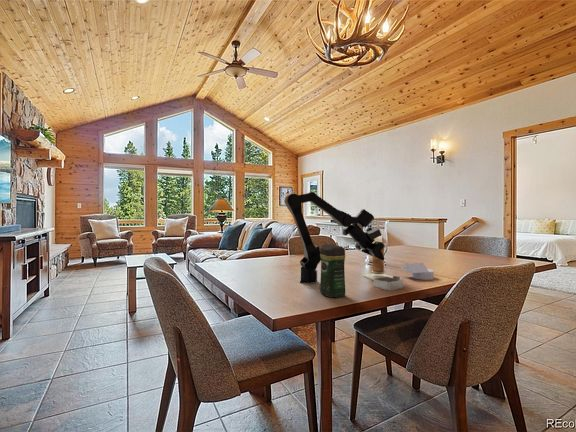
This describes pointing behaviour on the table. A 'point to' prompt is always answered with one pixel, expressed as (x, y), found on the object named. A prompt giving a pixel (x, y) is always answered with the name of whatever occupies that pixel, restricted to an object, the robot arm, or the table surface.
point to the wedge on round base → (419, 271)
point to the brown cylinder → (378, 265)
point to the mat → (374, 276)
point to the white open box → (388, 283)
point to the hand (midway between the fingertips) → (380, 258)
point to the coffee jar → (332, 270)
